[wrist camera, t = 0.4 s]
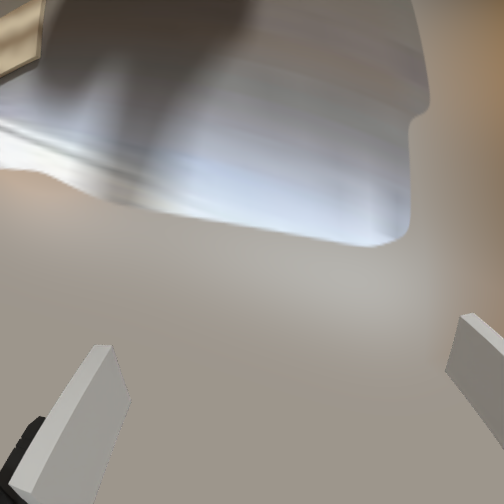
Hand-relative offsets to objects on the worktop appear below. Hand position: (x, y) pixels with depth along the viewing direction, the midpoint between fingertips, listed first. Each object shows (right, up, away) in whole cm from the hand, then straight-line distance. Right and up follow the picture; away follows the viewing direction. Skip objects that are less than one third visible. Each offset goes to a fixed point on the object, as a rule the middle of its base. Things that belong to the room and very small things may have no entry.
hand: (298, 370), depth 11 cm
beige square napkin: (-36, +35, +18) cm, 53 cm away
